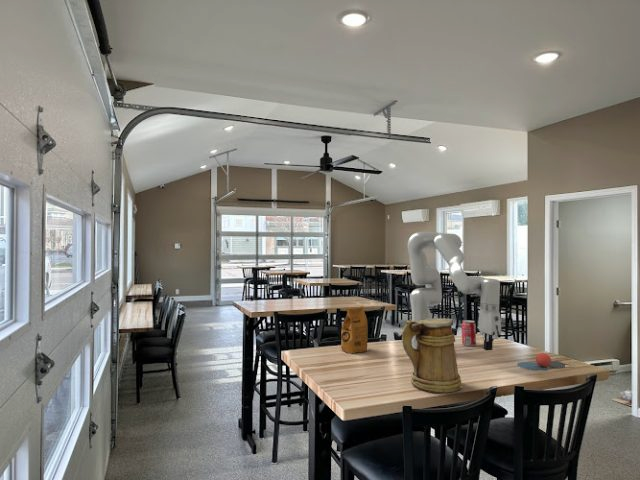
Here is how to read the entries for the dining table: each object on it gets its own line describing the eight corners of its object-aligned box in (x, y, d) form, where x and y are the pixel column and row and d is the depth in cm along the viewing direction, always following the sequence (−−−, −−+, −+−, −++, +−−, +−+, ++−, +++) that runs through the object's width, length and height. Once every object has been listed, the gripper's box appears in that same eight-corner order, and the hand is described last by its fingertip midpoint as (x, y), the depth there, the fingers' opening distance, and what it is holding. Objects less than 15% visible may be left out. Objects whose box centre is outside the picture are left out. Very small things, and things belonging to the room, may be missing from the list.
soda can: (477, 347, 221) (477, 322, 221) (462, 346, 222) (462, 321, 222) (474, 344, 228) (474, 320, 228) (460, 343, 229) (461, 319, 229)
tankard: (472, 390, 153) (472, 322, 154) (416, 397, 146) (416, 325, 146) (442, 376, 171) (442, 314, 171) (391, 381, 163) (391, 317, 163)
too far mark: (555, 368, 182) (555, 368, 182) (538, 362, 192) (538, 361, 192) (574, 367, 185) (574, 366, 185) (556, 361, 195) (556, 360, 195)
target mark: (512, 366, 186) (512, 365, 186) (523, 360, 195) (523, 360, 195) (544, 372, 177) (544, 372, 177) (554, 366, 185) (554, 366, 185)
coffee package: (338, 350, 211) (338, 306, 212) (357, 347, 218) (357, 304, 219) (350, 354, 203) (351, 309, 203) (370, 351, 210) (370, 307, 211)
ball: (549, 351, 186) (551, 364, 186) (534, 351, 189) (536, 364, 189) (550, 355, 181) (553, 369, 181) (535, 356, 183) (537, 369, 183)
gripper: (508, 310, 175) (506, 354, 175) (486, 304, 189) (484, 344, 190) (492, 310, 173) (491, 355, 173) (471, 304, 187) (470, 345, 188)
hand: (487, 349), depth 181 cm, fingers closed
